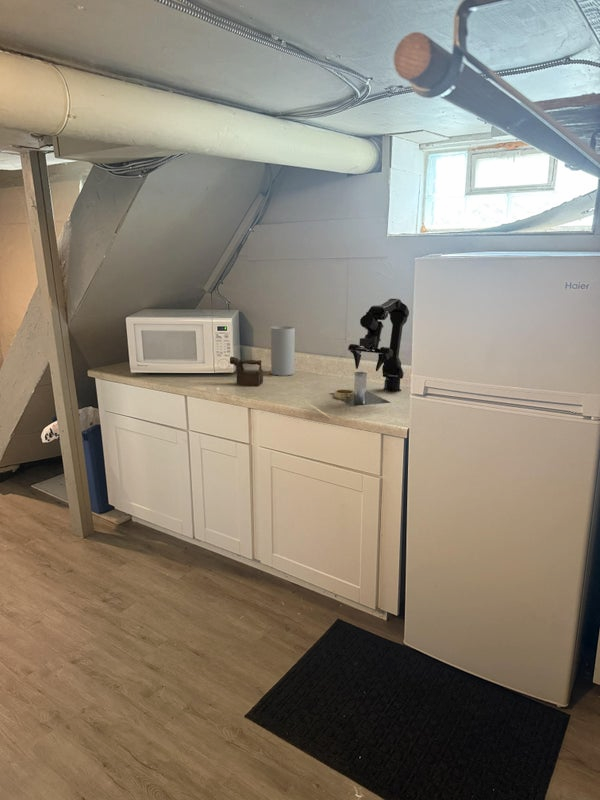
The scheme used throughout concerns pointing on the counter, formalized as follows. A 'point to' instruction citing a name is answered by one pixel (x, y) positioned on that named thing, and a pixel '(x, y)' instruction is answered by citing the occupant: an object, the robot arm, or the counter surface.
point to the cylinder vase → (282, 350)
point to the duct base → (368, 398)
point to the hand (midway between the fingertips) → (366, 370)
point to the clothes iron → (247, 372)
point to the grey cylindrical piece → (360, 387)
